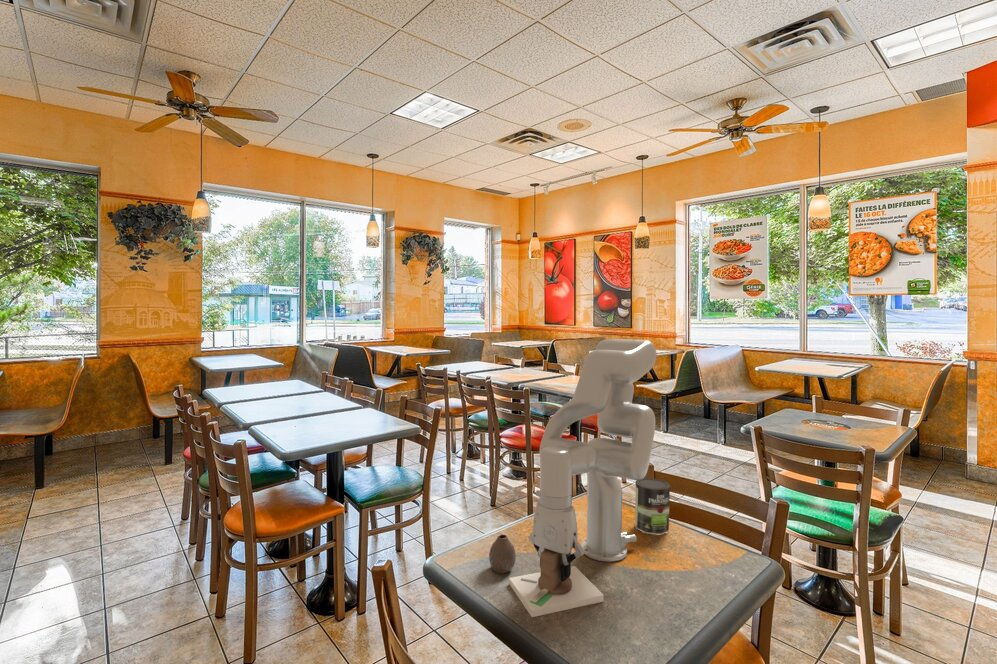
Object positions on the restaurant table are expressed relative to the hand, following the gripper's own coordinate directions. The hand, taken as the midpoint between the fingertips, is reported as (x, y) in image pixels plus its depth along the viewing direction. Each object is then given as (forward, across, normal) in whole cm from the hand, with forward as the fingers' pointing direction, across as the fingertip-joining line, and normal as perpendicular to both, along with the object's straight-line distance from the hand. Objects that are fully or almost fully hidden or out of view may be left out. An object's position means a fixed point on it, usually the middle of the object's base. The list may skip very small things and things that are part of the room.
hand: (555, 574), depth 117 cm
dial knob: (+2, 0, -2) cm, 4 cm away
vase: (+5, -16, +1) cm, 17 cm away
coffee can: (+5, +7, +49) cm, 49 cm away
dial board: (+4, 0, 0) cm, 4 cm away
